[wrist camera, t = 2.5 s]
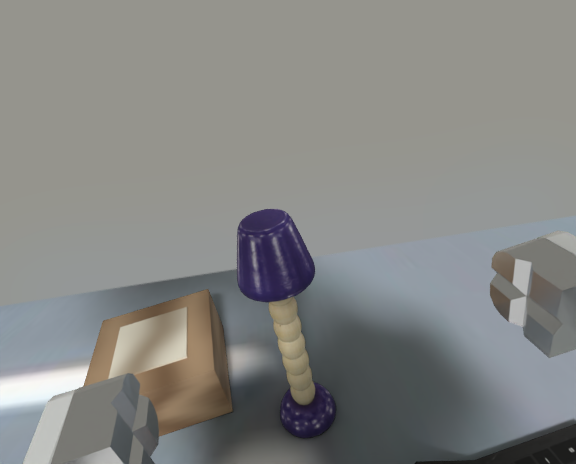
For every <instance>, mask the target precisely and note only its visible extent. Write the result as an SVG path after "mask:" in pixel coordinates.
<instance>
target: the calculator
mask: <svg viewBox="0 0 576 464" xmlns="http://www.w3.org/2000/svg"><path fill="white" fill-rule="evenodd" d="M415 464H576V424H574V425H572V426H569V427H566V428H563V429H560V430H558V431H555V432H552V433H549V434H546V435H544V436H541V437H538V438H535V439H532V440H530V441H527V442H524V443H521V444H518V445H516V446H513V447H510V448H507V449H504V450H502V451H499V452H496V453H493V454H491V455H488V456H485V457H482V458H479V459H477V460H462V461H424V462H416V463H415Z"/></svg>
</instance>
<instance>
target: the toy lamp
mask: <svg viewBox="0 0 576 464" xmlns="http://www.w3.org/2000/svg"><path fill="white" fill-rule="evenodd" d="M314 275H315V265H314V262H313V260H312V258H311V256H310V253H309V252H308V250H307V247H306V245H305V243H304V241H303V239H302V237H301V235H300V233H299V232H298V229H297V228H296V226H295V224H294V222H293V220H292V219H291V217H290V216H289V215H288V214H287V213H286V212H285V211H282V210H278V209H265V210H261V211H257V212H254V213H252V214H250V215H248V216H246V217H245V218H244V219H243V220H242V221H241V222H240V224H239V227H238V234H237V281H238V286H239V288H240V290H241V292H242V293H243V294H244V295H245V296H247V297H248V298H250V299H252V300H256V301H261V302H269V312H270V315H271V317H272V318H273V319H274V323H273V324H274V331H275V333H276V335H277V337H278V346H279V350H280V352H281V353H282V355H283V356H282V360H283V365H284V367H285V369H286V370H287V380H288V382H289V384H290V385H291V387H290V389H289V390H288V391H287V392H286V394H285V395H284V397H283V399H282V402H281V407H280V417H281V421H282V424H283V425H284V427H285V428H286V430H288V431H289V432H290V433H291V434H293V435H295V436H297V437H301V438H309V437H313V436H317V435H319V434H321V433H323V432H324V431H325V430H327V429H328V428H329V427H330V426H331V424H332V422H333V420H334V417H335V413H336V406H335V402H334V399H333V397H332V396H331V394H330V393H329V391H328V390H327V389H326V388H325V387H323V386H322V385H320V384H318V383H315V382H313V381H312V372H311V369H310V367H309V357H308V354H307V351H306V350H305V339H304V336H303V334H302V333H301V321H300V319H299V317H298V315H297V310H298V307H297V303H296V300H295V298H294V297H293V296H296V295H298V294H299V293H301V292H302V291H304V290H305V289H306V288H307V287H308V286H309V285H310V284H311V282H312V280H313V278H314Z"/></svg>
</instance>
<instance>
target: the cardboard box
mask: <svg viewBox="0 0 576 464" xmlns="http://www.w3.org/2000/svg"><path fill="white" fill-rule="evenodd" d="M127 373H131V374H134V376H135V377H136V379H137V380H138V381H139V383H140V390H139V394H140V395H143V396H145V397H148V398H149V399H150V401H151V402H152V404H153V406H154V408H155V411H156V414H157V418H158V426H159V436H162V435H165V434H168V433H171V432H174V431H177V430H180V429H183V428H186V427H189V426H192V425H194V424H197V423H200V422H203V421H206V420H209V419H212V418H215V417H218V416H221V415H224V414H227V413H230V412H233V410H232V401H231V392H230V384H229V375H228V366H227V358H226V349H225V340H224V331H223V325H222V323H221V320H220V318H219V315H218V313H217V310H216V308H215V305H214V302H213V300H212V297H211V295H210V292H209V290H208V289H206V290H203V291H200V292H197V293H193V294H190V295H187V296H183V297H180V298H177V299H174V300H170V301H167V302H164V303H160V304H157V305H154V306H150V307H147V308H144V309H141V310H137V311H134V312H131V313H127V314H124V315H121V316H118V317H114V318H111V319H108V320H104V321H103V323H102V326H101V329H100V333H99V336H98V339H97V343H96V346H95V349H94V353H93V356H92V359H91V363H90V366H89V369H88V373H87V376H86V380H85V383H84V386H87V385H90V384H94V383H97V382H100V381H104V380H107V379H110V378H113V377H117V376H120V375H123V374H127ZM84 386H83V387H84Z"/></svg>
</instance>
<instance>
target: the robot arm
mask: <svg viewBox="0 0 576 464" xmlns="http://www.w3.org/2000/svg"><path fill="white" fill-rule="evenodd" d="M492 268H493V269H494V270H495V272H496V273H497V274H496V275H495V277H494V278H493V280H492V281H491V283H490V296H491V298H492V301H493V304H494V306H495V308H496V309H497V310H498V312H499V313H500V314H501V315H502V316H503V317H504V318H505V319H506V320H507V321H508V322H510V323H513V324H516V325H519V326H522V327H523V332H524V336H525V337H526V338H527V339H528V340H529V341H530V342H532V343H533V344H534V345H535V346H536V347H537V348H538V349H539V350H541V351H542V352H543V353H544V354H545V355H546V356H547V357H548V358H551V357H554V356H557V355H560V354H563V353H566V352H569V351H572V350H575V349H576V236H574V235H572V234H570V233H568V232H563V231H556V232H553V233H550V234H547V235H544V236H541V237H538V238H537V239H533V240H530V241H527V242H524V243H521V244H519V245H516V246H513V247H510V248H507V249H504V250H501V251H498V252H496V253H495V255H494V256H493V258H492ZM139 390H140V383H139V381H138V380H137V379H136V377H135V376H134V374H131V373H127V374H123V375H120V376H117V377H113V378H110V379H107V380H104V381H100V382H97V383H94V384H90V385H87V386H84V387H81V388H79V389H76V390H73V391H69V392H66V393H63V394H59V395H56V396H53V397H52V398H51V399H50V400H49V401H48V402H47V404H46V406H45V409H44V411H43V414H42V416H41V419H40V421H39V424H38V426H37V429H36V431H35V434H34V436H33V439H32V441H31V444H30V447H29V449H28V452H27V454H26V457H25V459H24V462H23V464H155V463H154V462H153V460H152V459H151V457H150V456H151V455H152V453H153V452H154V450H155V449H156V447H157V445H158V441H159V426H158V418H157V414H156V411H155V408H154V406H153V404H152V402H151V401H150V399H149V398H148V397H145V396H143V395H140V394H139Z"/></svg>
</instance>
